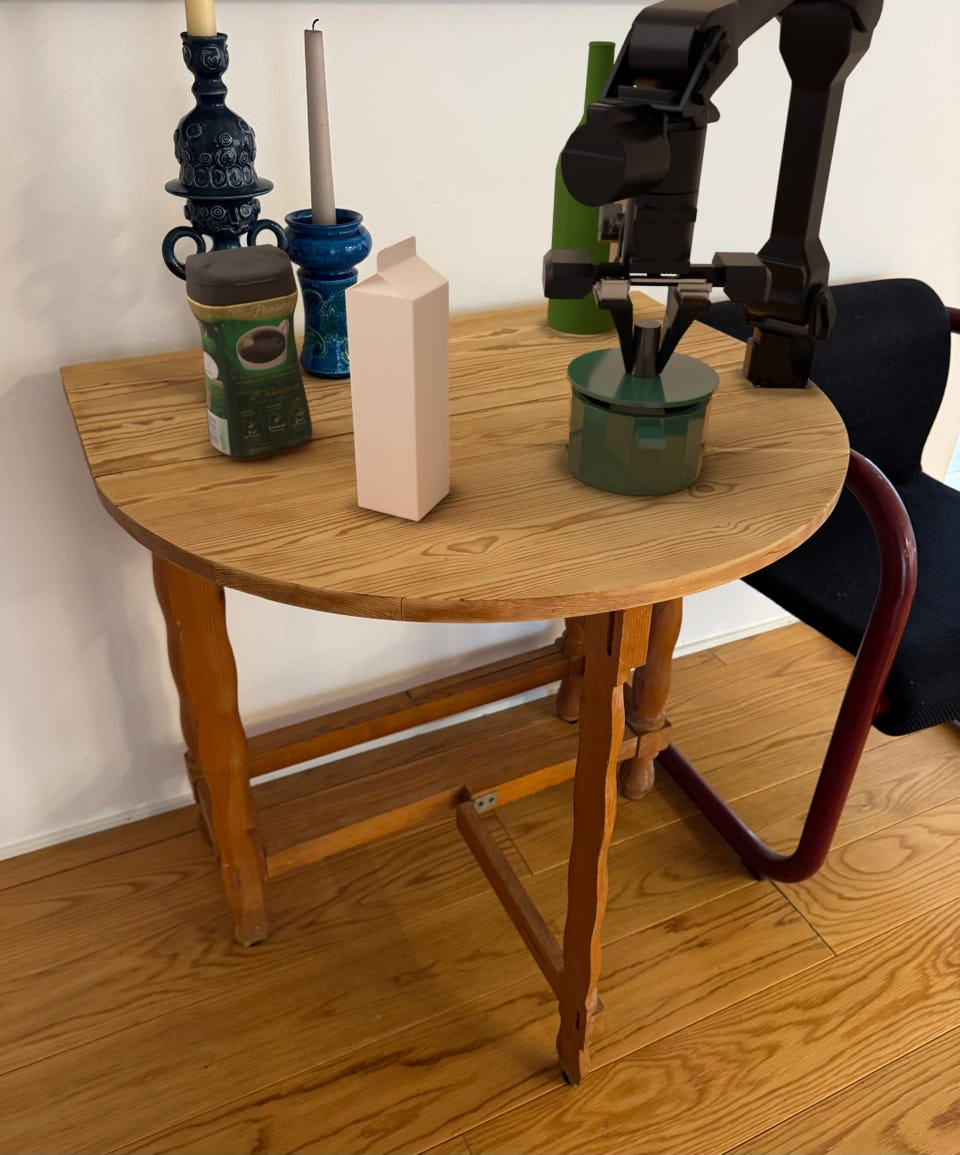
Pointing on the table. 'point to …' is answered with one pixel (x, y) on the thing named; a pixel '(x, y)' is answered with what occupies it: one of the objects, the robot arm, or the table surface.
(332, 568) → the table surface
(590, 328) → the wine bottle
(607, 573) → the table surface
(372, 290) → the milk
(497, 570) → the table surface
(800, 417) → the table surface
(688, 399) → the lid
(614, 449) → the tin
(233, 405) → the coffee jar
